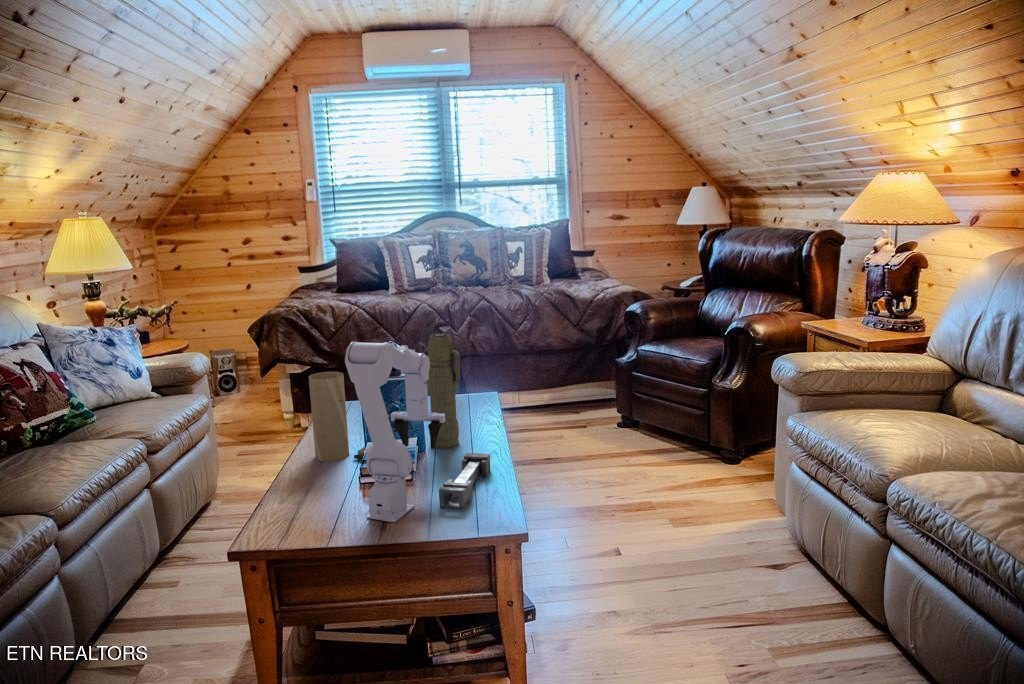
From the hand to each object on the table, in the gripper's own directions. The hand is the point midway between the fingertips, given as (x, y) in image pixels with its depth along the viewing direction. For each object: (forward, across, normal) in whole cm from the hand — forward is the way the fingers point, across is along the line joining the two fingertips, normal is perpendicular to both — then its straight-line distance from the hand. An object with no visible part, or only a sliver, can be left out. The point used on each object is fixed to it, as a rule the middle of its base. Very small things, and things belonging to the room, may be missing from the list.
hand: (419, 447), depth 190 cm
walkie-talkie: (+11, +16, -16) cm, 25 cm away
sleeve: (+10, -13, +10) cm, 20 cm away
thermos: (+11, +4, -32) cm, 34 cm away
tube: (+11, +34, -17) cm, 40 cm away
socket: (+10, -13, -9) cm, 19 cm away
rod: (+9, -13, 0) cm, 16 cm away
